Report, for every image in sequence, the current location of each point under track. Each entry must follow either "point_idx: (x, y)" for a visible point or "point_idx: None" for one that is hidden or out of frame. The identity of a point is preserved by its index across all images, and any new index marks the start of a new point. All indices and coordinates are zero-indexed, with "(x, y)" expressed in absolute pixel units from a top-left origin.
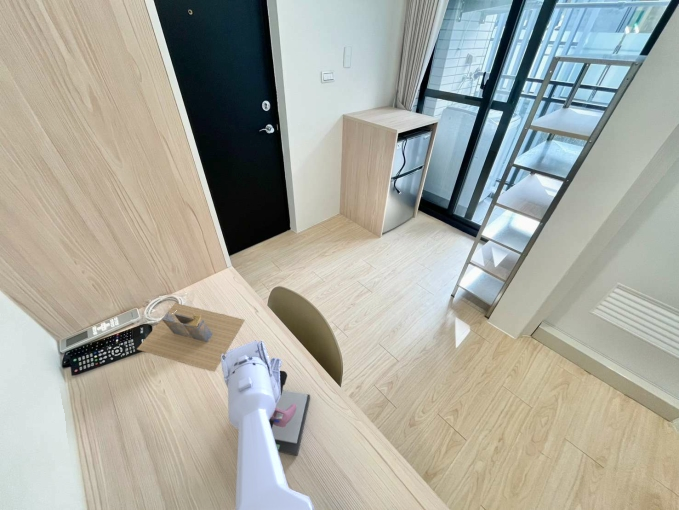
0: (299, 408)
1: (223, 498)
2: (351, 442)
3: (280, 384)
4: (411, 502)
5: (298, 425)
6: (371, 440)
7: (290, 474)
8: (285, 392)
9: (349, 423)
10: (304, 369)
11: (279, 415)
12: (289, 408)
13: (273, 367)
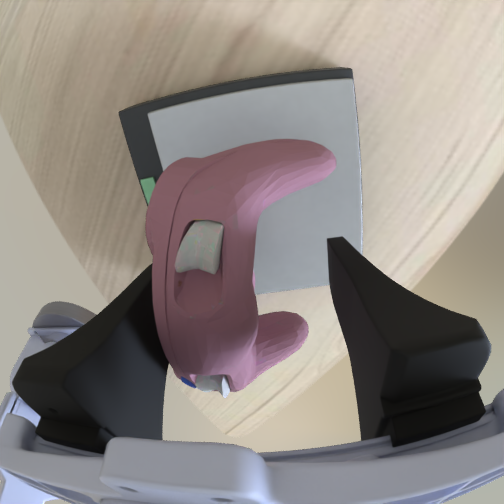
0: (308, 274)
1: (26, 151)
2: (269, 369)
3: (363, 432)
4: (221, 429)
5: (254, 290)
6: (285, 392)
7: None
8: (354, 203)
9: (307, 359)
10: (441, 211)
11: (216, 388)
12: (274, 359)
13: (472, 485)
